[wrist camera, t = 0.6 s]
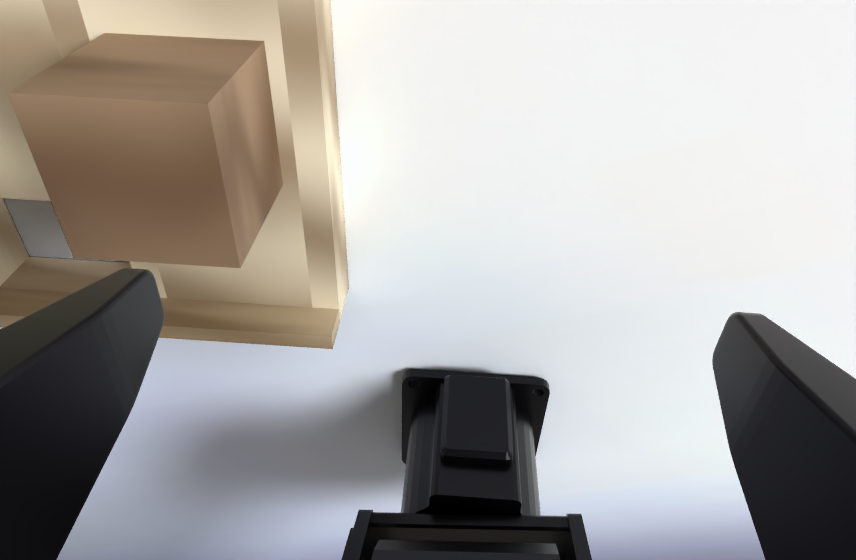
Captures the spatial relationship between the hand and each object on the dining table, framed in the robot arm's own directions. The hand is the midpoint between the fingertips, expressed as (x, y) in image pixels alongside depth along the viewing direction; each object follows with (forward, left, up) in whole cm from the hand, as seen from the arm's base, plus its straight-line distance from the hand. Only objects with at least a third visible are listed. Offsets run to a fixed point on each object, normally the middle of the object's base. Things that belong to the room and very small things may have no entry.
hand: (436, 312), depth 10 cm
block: (-1, +8, -10) cm, 12 cm away
